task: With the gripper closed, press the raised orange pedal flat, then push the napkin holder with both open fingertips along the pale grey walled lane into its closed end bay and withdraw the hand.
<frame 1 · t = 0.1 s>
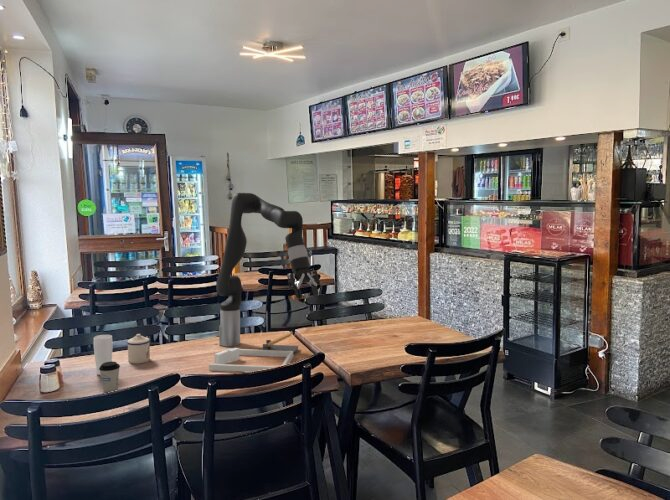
hand: (308, 297, 191), 31 cm above the table, tool tilted 20°, fingers open, 8 cm apart
coffee cup: (110, 390, 176), on the table
pedal: (278, 339, 224), point 5 cm above the table, hinge at 28.0°
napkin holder: (228, 363, 208), on the table
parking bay: (262, 363, 207), on the table
pedal base: (279, 351, 224), on the table
drinking glass: (104, 374, 193), on the table
teacup with lid: (138, 360, 210), on the table
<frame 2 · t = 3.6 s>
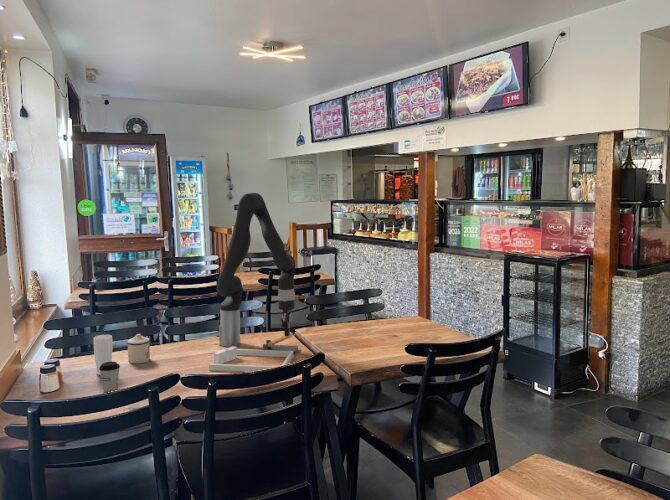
hand: (287, 335, 223), 8 cm above the table, tool pointing down, fingers closed
pedal: (278, 340, 224), point 5 cm above the table, hinge at 25.2°, touching gripper
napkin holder: (227, 362, 210), on the table
everything else where it was.
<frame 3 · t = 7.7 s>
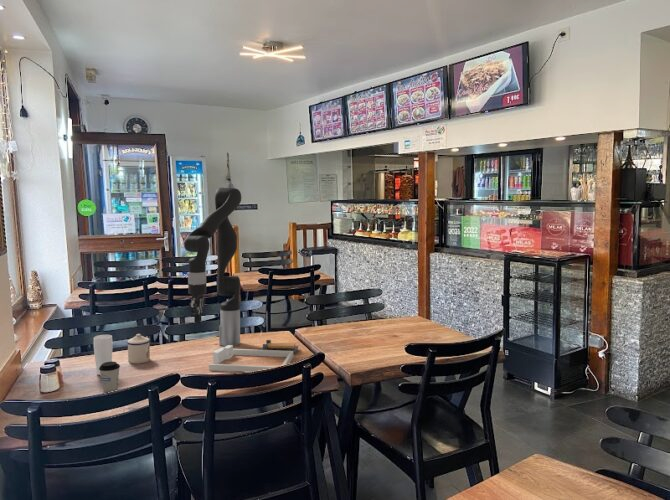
hand: (197, 322, 208), 17 cm above the table, tool pointing down, fingers closed
pedal: (279, 345, 224), point 3 cm above the table, hinge at 2.6°
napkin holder: (224, 360, 212), on the table
everything else where it was.
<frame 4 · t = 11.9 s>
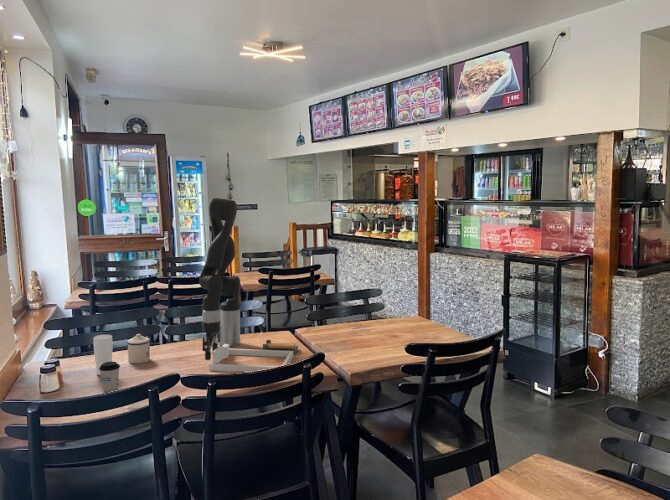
hand: (211, 356, 209), 2 cm above the table, tool pointing down, fingers open, 8 cm apart
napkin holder: (222, 359, 213), on the table, touching gripper
everything else where it was.
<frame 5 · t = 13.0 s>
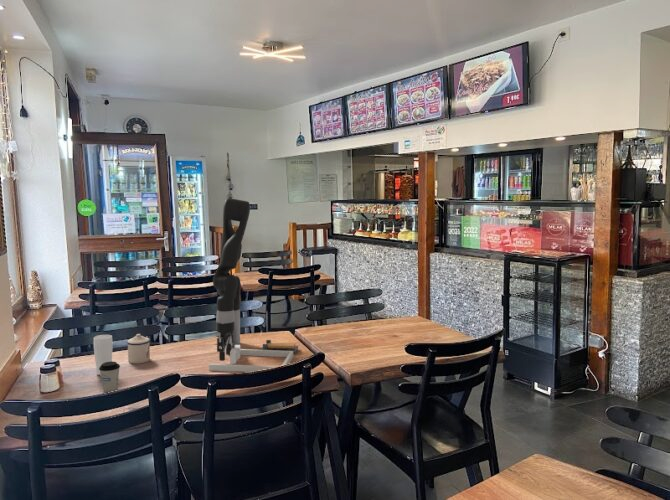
hand: (225, 357, 208), 2 cm above the table, tool pointing down, fingers open, 8 cm apart
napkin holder: (236, 360, 212), on the table, touching gripper
everything else where it was.
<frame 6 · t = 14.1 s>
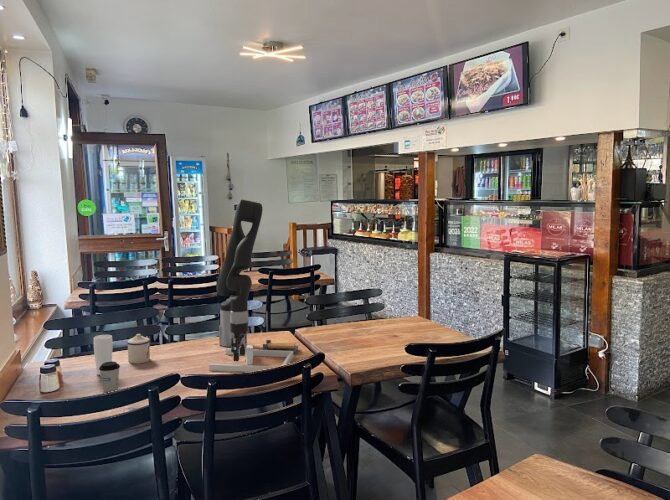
hand: (239, 357, 207), 2 cm above the table, tool pointing down, fingers open, 8 cm apart
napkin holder: (250, 361, 212), on the table, touching gripper, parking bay
everything else where it was.
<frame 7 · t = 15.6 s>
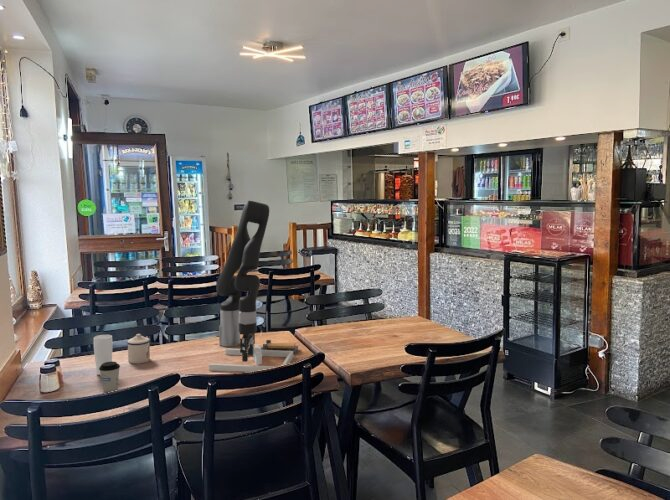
hand: (247, 358, 207), 2 cm above the table, tool pointing down, fingers open, 8 cm apart
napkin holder: (258, 361, 212), on the table, touching gripper
everything else where it was.
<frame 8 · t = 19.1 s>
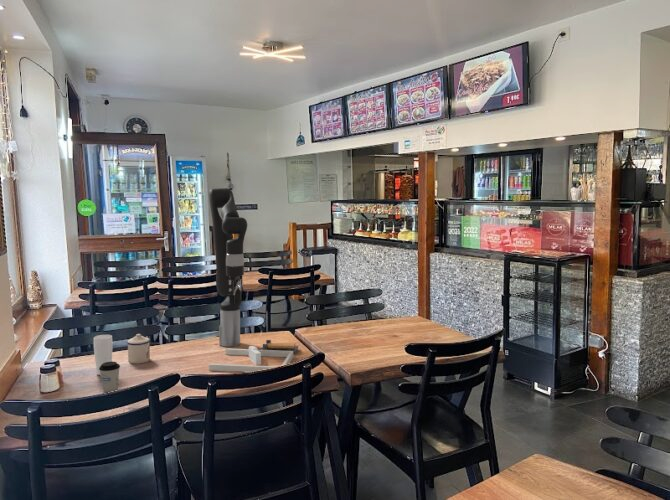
hand: (235, 301, 207), 26 cm above the table, tool pointing down, fingers open, 8 cm apart
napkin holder: (255, 361, 212), on the table
everything else where it was.
at the end: pedal at +3° (first picture: +28°); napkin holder inside the target area on the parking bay (7.4 cm from its centre), point -0.7 cm above the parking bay's base; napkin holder tilted 0° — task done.
